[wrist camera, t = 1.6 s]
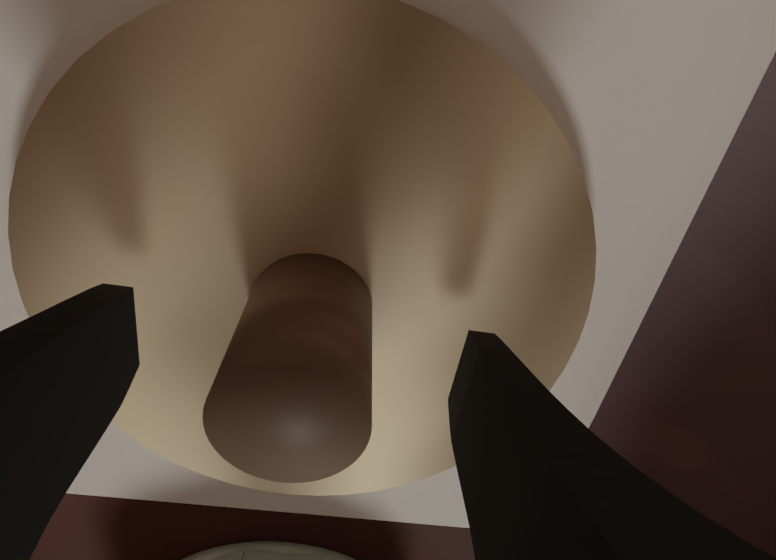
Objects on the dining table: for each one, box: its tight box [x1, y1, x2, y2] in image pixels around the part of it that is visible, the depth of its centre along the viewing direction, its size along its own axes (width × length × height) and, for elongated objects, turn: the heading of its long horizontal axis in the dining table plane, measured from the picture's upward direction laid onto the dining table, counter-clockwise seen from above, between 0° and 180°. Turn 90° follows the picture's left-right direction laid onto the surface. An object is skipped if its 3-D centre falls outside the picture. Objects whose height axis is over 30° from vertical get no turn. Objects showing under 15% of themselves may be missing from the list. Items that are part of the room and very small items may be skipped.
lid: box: [8, 0, 596, 496], centre depth 11 cm, size 14×14×5 cm
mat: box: [0, 0, 776, 528], centre depth 13 cm, size 18×18×1 cm
